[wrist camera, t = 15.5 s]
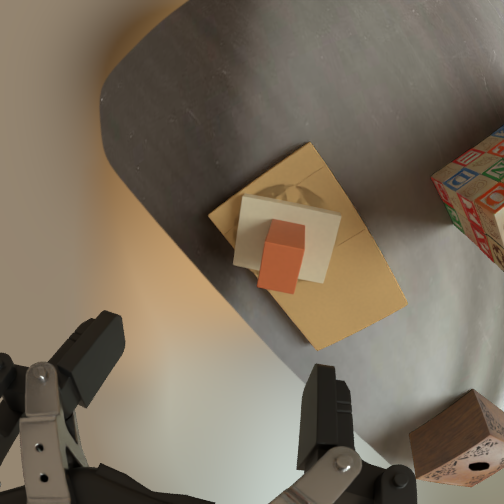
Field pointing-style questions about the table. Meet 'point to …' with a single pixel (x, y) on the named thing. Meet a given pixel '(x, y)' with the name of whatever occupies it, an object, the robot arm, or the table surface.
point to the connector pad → (290, 212)
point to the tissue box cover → (460, 443)
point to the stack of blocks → (477, 194)
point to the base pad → (342, 259)
